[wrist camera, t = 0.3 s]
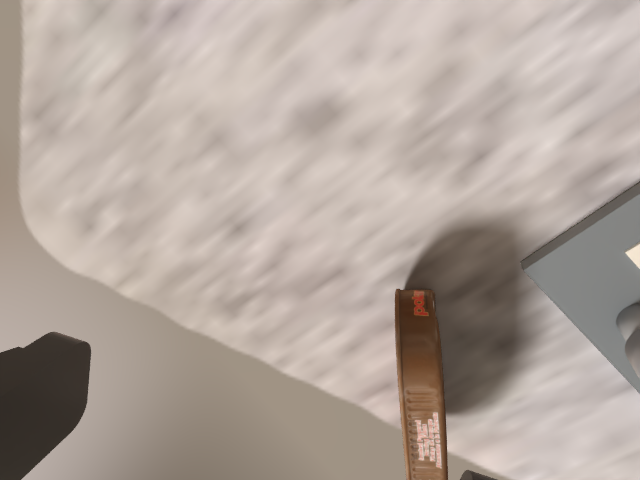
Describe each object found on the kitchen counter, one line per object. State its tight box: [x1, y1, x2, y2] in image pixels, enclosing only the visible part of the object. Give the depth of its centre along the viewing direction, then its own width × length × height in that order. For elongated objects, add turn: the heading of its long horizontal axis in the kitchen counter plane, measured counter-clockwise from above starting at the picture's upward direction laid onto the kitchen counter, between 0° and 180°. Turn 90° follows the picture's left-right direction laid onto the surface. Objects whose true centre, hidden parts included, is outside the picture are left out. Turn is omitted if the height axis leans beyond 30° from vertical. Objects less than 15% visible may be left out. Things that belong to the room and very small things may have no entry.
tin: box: [395, 289, 448, 480], centre depth 31 cm, size 15×3×8 cm, turn 8°
